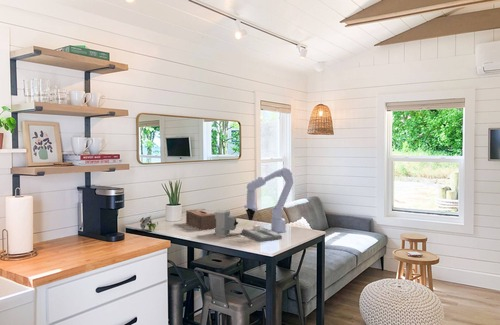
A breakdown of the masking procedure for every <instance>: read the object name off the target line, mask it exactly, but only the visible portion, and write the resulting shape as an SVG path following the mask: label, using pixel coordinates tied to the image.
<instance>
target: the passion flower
mask: <svg viewBox="0 0 500 325" xmlns="http://www.w3.org/2000/svg"><path fill="white" fill-rule="evenodd" d="M152 220H153V218H152V215H149V216H147V217H141V219H140V220H139V223H140V224H139V225H140V228H141V229H140V231H144V229H145V228H146V227H147V228H148V231H149V232H150V233H151V232H152V231H154V230H155V229H156V227H157V226H159V222H154V223H153V222H152Z"/></svg>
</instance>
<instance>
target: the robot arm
mask: <svg viewBox="0 0 500 325" xmlns="http://www.w3.org/2000/svg"><path fill="white" fill-rule="evenodd" d="M275 178H283V180H284V182H285V184H284V186H283V189H282V190H281V193H280V195H279V198H278V200H277V202H276V204H275V206H274V208H272V210H271V215H272V216H271V220H270V221H271V222H270V223H271V224H270V225H271V226H270V228H271V229H270V230H271V231H273V232H276V233H278V234H280V233H286V232H287V230H286V229H287V226H286V225H287V224H286V222H287V220H285V218H284V217H283V211H284V206H285V204H286V202H287V200H288V196H289V195H290V192H291V190H292V188H293V184H294V178H293V173H292V171H291V170H290V169H289V168H287V167H282V168H279V169H277V170H275V171H273V172H272V173H270V174H268V175H266V176H258V177H257V178H256V179H255V180H251V181H250V182H248V183H247V185H246V189H247V190H246V204H244V205H243V206H244V209H245V212H246V214H247V217H248V221H253V219H254V215H255V213H256V212H258V207H256V189H259V188H261V187H263V186H265V185H266V183H267V182H269V181H271V180H273V179H275Z"/></svg>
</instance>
